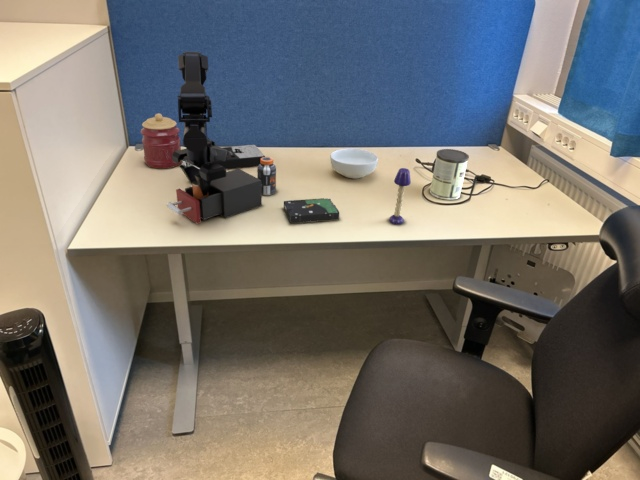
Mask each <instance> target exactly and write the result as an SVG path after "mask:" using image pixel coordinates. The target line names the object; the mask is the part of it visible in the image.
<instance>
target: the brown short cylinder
mask: <svg viewBox="0 0 640 480" xmlns="http://www.w3.org/2000/svg"><path fill="white" fill-rule="evenodd" d="M191 187H193V197H194V198H195V199H200V198H204V197H207V196H209V195H208V193H207V195H205V196H204V195H203V194H202V192H201V190H200V187H199V185H198V182H197V180H195V181H193V182H192V185H191Z"/></svg>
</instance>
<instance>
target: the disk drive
mask: <svg viewBox="0 0 640 480" xmlns="http://www.w3.org/2000/svg"><path fill="white" fill-rule="evenodd" d="M283 210H284V212H285V214H286V216H287V219H288V221H289V223H290V224H302V223H303V224H304V223H315V222H327V221H328V222H329V221H337V220H339V219H340V211H339V209H338V208H337V206H336V205H335V204H334V202H333V200H332V199H331V198H310V199H294V200H293V199H291V200H283Z"/></svg>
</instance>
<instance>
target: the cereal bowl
mask: <svg viewBox="0 0 640 480" xmlns="http://www.w3.org/2000/svg"><path fill="white" fill-rule="evenodd" d="M329 157H330V158H329V159H330V160H329V161H330V165H331V168H332V169H333V170H334V172H336V173H338V174H340V175H341V176H343V177H345V178H348V179H361V178H363V177H365V176H369V175H370V174H372V173H373V172H374V171H375V170H376V169H377V167H378V162H379V157H378V155H377V154H376V153H374V152H372V151H369V150H366V149H361V148H340V149H337V150H334V151H332V152H331V153H330V156H329Z"/></svg>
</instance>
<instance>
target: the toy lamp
mask: <svg viewBox="0 0 640 480" xmlns="http://www.w3.org/2000/svg"><path fill="white" fill-rule="evenodd" d="M393 182H394V184H395V185H397V186H398V190H397V192H398V193H397V197H396V203H395V207H394V213H393V214H392V215H391V216H390V217H389V219H388V221H389V223H390V224H393V225H396V226H397V225H398V226H399V225H402V224H404V218H403V216H402V215H401V211H402V207H403V201H404V196H405V194H404V193H405V187H407V186H410V185H411V172H410V170H409V169H408V168H406V167H401V168H399V169H398V171H397V173H396V175H395V177H394V180H393Z"/></svg>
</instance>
